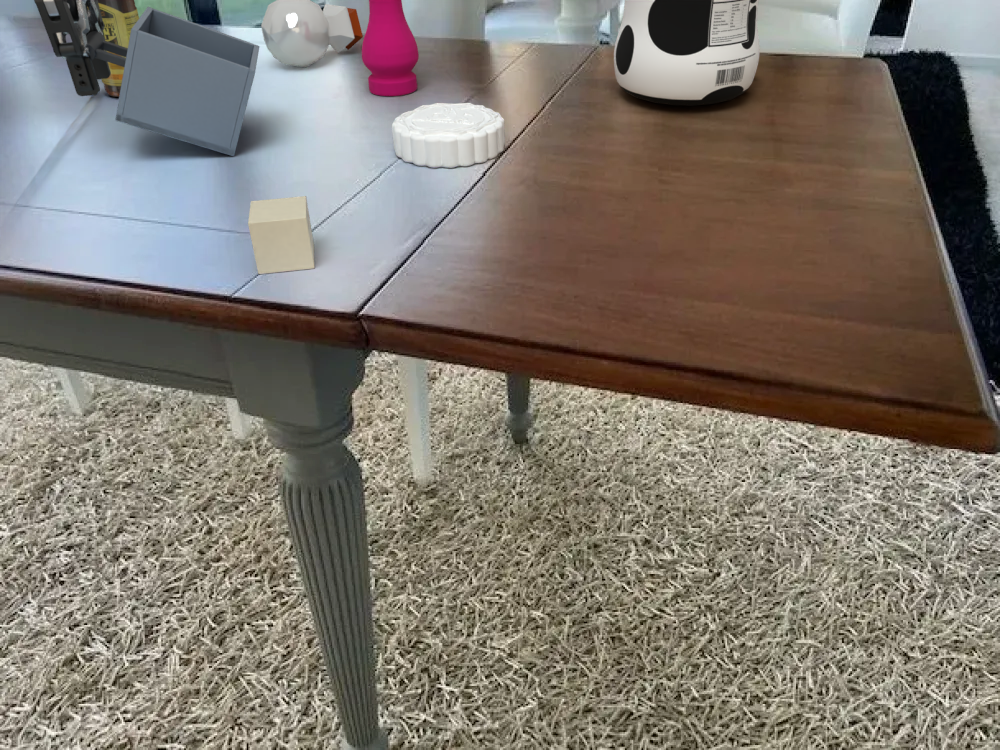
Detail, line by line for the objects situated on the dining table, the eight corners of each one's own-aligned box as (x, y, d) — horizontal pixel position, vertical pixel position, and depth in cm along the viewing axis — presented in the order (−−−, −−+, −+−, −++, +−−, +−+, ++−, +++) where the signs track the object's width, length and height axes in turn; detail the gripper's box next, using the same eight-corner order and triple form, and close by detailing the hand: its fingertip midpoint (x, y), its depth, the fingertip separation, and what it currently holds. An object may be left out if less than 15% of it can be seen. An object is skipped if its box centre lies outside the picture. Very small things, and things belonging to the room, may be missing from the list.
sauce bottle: (96, 95, 112) (47, -74, 101) (136, 83, 117) (94, -81, 105) (126, 102, 109) (79, -71, 98) (166, 90, 113) (126, -78, 102)
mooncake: (516, 134, 96) (515, 101, 94) (489, 172, 86) (488, 138, 84) (415, 127, 98) (412, 96, 96) (377, 164, 89) (374, 130, 87)
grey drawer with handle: (62, 104, 86) (76, 10, 81) (85, 75, 95) (99, -11, 90) (233, 156, 92) (255, 71, 88) (239, 124, 101) (259, 45, 96)
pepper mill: (376, 81, 115) (358, -87, 103) (427, 83, 113) (416, -87, 102) (357, 96, 109) (337, -80, 98) (412, 99, 108) (397, -80, 96)
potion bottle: (267, 83, 120) (342, 71, 131) (304, 47, 113) (380, 37, 124) (236, 22, 119) (314, 15, 130) (271, -18, 112) (351, -22, 123)
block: (258, 274, 69) (247, 223, 67) (260, 250, 73) (250, 201, 70) (314, 268, 70) (306, 217, 67) (313, 245, 73) (306, 195, 71)
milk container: (636, 70, 116) (645, -78, 106) (765, 83, 110) (789, -74, 100) (592, 107, 103) (598, -58, 93) (736, 123, 97) (759, -52, 87)
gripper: (18, -100, 86) (73, 71, 96) (-26, -83, 75) (41, 110, 84) (96, -104, 87) (142, 65, 97) (64, -89, 76) (120, 103, 85)
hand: (95, 85), depth 90 cm, fingers closed on grey drawer with handle, 5 cm apart
